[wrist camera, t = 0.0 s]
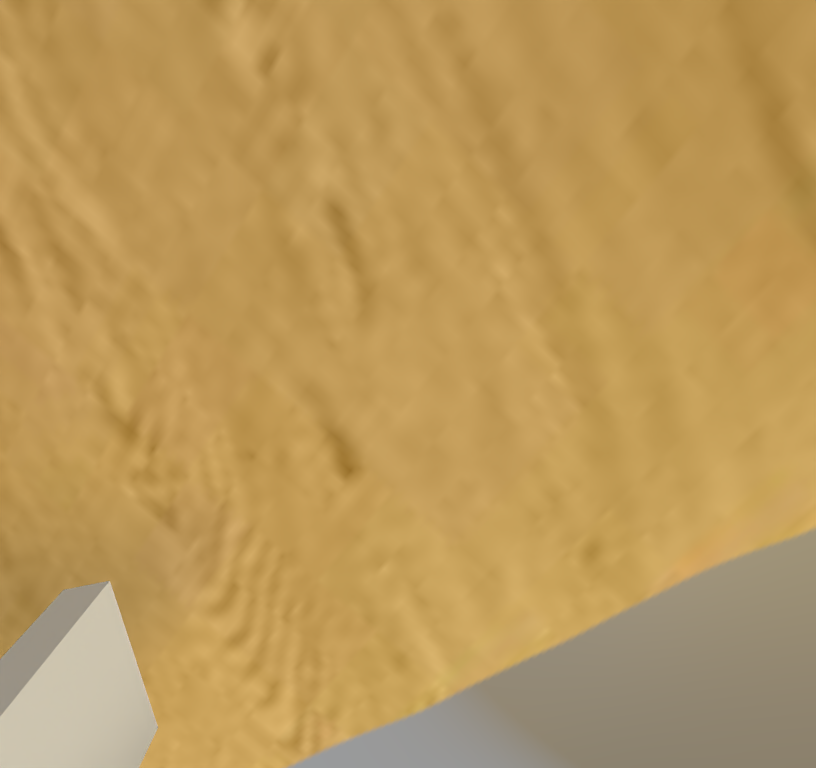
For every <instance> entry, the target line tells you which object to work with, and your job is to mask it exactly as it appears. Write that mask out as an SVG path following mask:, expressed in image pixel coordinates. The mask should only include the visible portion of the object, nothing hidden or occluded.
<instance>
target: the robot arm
mask: <svg viewBox="0 0 816 768" xmlns="http://www.w3.org/2000/svg"><path fill="white" fill-rule="evenodd" d="M157 728H158V726H157V723H156V720H155V717H154V714H153V711H152V708H151V705H150V702H149V699H148V696H147V693H146V690H145V686H144V683H143V680H142V677H141V674H140V671H139V668H138V665H137V662H136V659H135V656H134V653H133V650H132V647H131V644H130V641H129V638H128V635H127V632H126V629H125V626H124V623H123V620H122V617H121V614H120V611H119V607H118V604H117V601H116V598H115V595H114V592H113V589H112V586H111V583H110V581H106V582H101V583H96V584H91V585H86V586H81V587H76V588H71V589H66V590H63V591H62V592H61V593H60V594H59V595H58V597H57V598H56V599H55V600H54V601H53V602H52V603H51V604H50V605H49V606H48V608H47V609H46V610H45V611H44V612H43V613H42V614H41V615H40V616H39V617H38V618H37V620H36V621H35V622H34V623H33V624H32V625H31V626H30V627H29V628H28V629H27V631H26V632H25V633H24V634H23V635H22V636H21V637H20V638H19V639H18V640H17V641H16V643H15V644H14V645H13V646H12V647H11V648H10V649H9V650H8V651H7V652H6V654H5V655H4V656H3V657H2V658H1V659H0V768H139V766H140V764H141V762H142V760H143V758H144V756H145V754H146V752H147V750H148V747H149V745H150V743H151V741H152V739H153V737H154V735H155V733H156V731H157Z"/></svg>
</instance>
